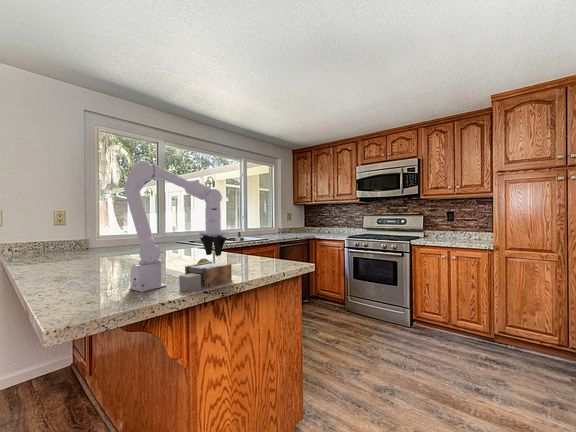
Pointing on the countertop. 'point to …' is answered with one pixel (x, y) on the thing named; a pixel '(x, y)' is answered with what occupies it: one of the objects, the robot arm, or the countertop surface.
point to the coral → (203, 261)
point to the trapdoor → (202, 268)
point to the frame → (213, 274)
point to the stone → (190, 282)
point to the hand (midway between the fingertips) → (213, 255)
